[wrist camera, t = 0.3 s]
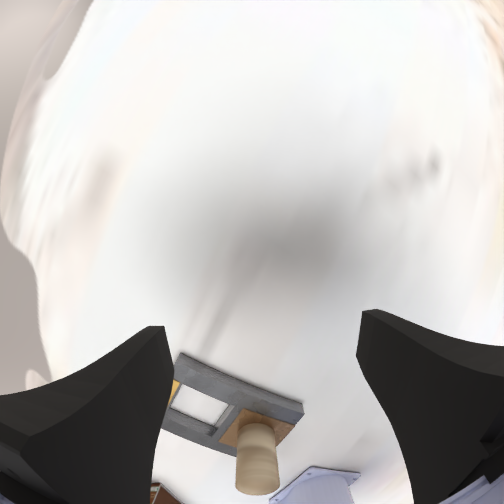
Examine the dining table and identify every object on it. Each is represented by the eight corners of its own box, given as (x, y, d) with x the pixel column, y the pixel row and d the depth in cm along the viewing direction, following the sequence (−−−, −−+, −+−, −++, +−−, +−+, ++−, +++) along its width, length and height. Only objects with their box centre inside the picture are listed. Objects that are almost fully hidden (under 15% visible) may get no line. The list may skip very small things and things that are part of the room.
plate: (258, 453, 22) (258, 464, 21) (151, 411, 22) (146, 421, 20) (301, 403, 21) (304, 414, 20) (180, 352, 21) (175, 362, 19)
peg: (263, 449, 20) (265, 498, 15) (231, 439, 20) (228, 489, 14) (281, 429, 20) (288, 480, 14) (248, 418, 20) (248, 471, 14)
